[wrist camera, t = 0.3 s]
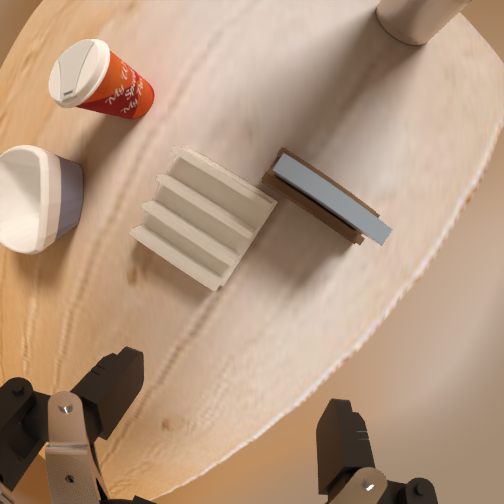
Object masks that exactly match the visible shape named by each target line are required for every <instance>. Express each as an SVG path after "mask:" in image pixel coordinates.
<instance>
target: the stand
mask: <svg viewBox="0 0 504 504" xmlns="http://www.w3.org/2000/svg"><path fill="white" fill-rule="evenodd" d="M283 153H285V154H286V155H288V156H290V157H291V158H293V159H294V160H296V161H298V162H299V163H301V164H302V165H304V166H305V167H307V168H308V169H310V170H311V171H313V172H314V173H316V174H317V175H319V176H320V177H322V178H323V179H325V180H326V181H328V182H329V183H331V184H332V185H333V186H335V187H336V188H338V189H339V190H341V191H342V192H343V193H345V194H346V195H348V196H349V197H350V198H352V199H353V200H354V201H356V202H357V203H358V204H360V205H361V206H362V207H364V208H365V209H366V210H368V211H369V212H370V213H372V214H373V215H374V216H376V217H377V218H379V216H380V215H379V214H377V213H376V211H374V210H373V209H372V208H370V207H369V206H368V205H366V204H365V203H364V202H363V201H361V200H360V199H358V198H357V197H356V196H354V195H353V194H352V193H350V192H349V191H348V190H346V189H345V188H343V187H342V186H341V185H339V184H338V183H336V182H335V181H333V180H332V179H331V178H329V177H328V176H326V175H325V174H323V173H322V172H320V171H319V170H317V169H316V168H314V167H313V166H311V165H310V164H308V163H307V162H305V161H304V160H302V159H301V158H299V157H297V156H296V155H294V154H293V153H291V152H289V151H288V150H286V149H285V148H281V150H280V151H279V153H278V154H277V155H278V157H277V158H276V160H275V161H274V163H273V165H272V166H271V168H270V169H269V171H268V172H266V173H265V175H264V176H263V178H262V182H263V183H264V184H266V185H268V186H269V187H271V188H272V189H274V190H275V191H277V192H279V193H280V194H282V195H283V196H285V197H286V198H288V199H289V200H291V201H292V202H294V203H296V204H297V205H299V206H300V207H302V208H303V209H305V210H306V211H308V212H309V213H311V214H312V215H314V216H315V217H316V218H318V219H319V220H321V221H322V222H324V223H325V224H327V225H328V226H330V227H331V228H332V229H334V230H335V231H337V232H338V233H340V234H341V235H342V236H344V237H345V238H347V239H348V240H349V241H351V242H352V243H354V244H355V243H357V244H359V245H361V243H362V242H363V240H364V238H363V237H362V236H361V234H362V233H361V232H359V231H357V230H356V229H354V228H353V227H352V226H350V225H349V224H347V223H346V222H345V221H343V220H342V219H340V218H339V217H338V216H336V215H335V214H333V213H332V212H330V211H329V210H328V209H326V208H325V207H323V206H322V205H320V204H319V203H317V202H316V201H314V200H313V199H311V198H310V197H309V196H307V195H306V194H304V193H303V192H301V191H299V190H298V189H296V188H295V187H293V186H292V185H290V184H289V183H287V182H286V181H284V180H282V179H281V178H279V177H278V176H276V175H275V173H274V172H273V168H274V167H275V165H276V164H277V162H278V161H279V159H280V158H281V156H282V155H283Z"/></svg>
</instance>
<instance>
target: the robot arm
mask: <svg viewBox="0 0 504 504" xmlns="http://www.w3.org/2000/svg"><path fill="white" fill-rule="evenodd" d="M471 1H472V0H381V1H380V3H379V5H378V6H377V9H376V15H377V18H378V20H379V22H380V24H381V25H382V27H383V28H384V29H385V30H386V31H387V32H388V33H389V34H391V35H392V36H393V37H394V38H396V39H398V40H400V41H402V42H404V43H406V44H410V45H416V46H417V45H423V44H425V43H426V42H427V41H429V40H430V39H431V38H432V37H433V36H434V35H435V34H436V33H437V32H438V31H439V30H440V29H442V28H443V27H444V26H445V25H446V24H447V23H448V22H449V21H450V20H451V19H452V18H453V17H454V16H456V15H457V14H458V13H459V12H460V11H461V10H462V9H463V8H464V7H465V6H466V5H467V4H468V3H470V2H471ZM143 382H144V357H143V353H142V352H140V351H137V350H135V349H132V348H129V347H125V348H124V349H123V350H122V351H121V352H120V353H119V354H118V355H116V354H114V353H112V354H110V355H107V356H105V357H103V358H102V359H101V360H100V361H99V362H98V363H97V364H96V366H94V367H93V368H92V369H91V371H89V372H88V373H87V374H86V375H85V376H84V378H83V379H82V380H81V381H80V382H79V383H78V384H77V385H76V386H75V387H74V388H73V389H72V390H71V391H70V392H66V391H63V392H58V393H55V394H53V395H52V396H50V395H46V394H43V393H39V392H36V391H34V390H33V387H32V385H31V383H30V382H29V381H28V380H26V379H24V378H20V377H16V378H12V379H10V380H8V381H7V382H6V383H5V384H4V385H3V386H2V387H1V388H0V504H15V502H14V497H13V494H12V491H13V490H14V488H15V486H16V485H17V483H18V482H19V480H20V479H21V477H22V476H23V474H24V473H25V471H26V470H27V469H28V467H29V466H30V464H31V463H32V461H33V460H34V458H35V457H36V456H37V454H38V453H39V451H40V450H41V449H42V447H43V446H44V444H45V443H46V442H49V446H46V447H45V458H46V467H47V476H48V483H49V489H50V495H51V501H52V504H156V503H153V502H151V501H148V500H145V499H143V498H140V497H138V496H134V498H133V500H126V499H110V497H109V494H108V491H107V488H106V486H105V483H104V480H103V477H102V473H101V469H100V465H99V461H98V456H97V452H96V447H95V443H94V442H95V440H96V439H97V438H98V436H99V437H101V438H103V439H105V440H107V439H108V438H109V436H110V435H111V433H112V432H113V430H114V429H115V427H116V426H117V424H118V423H119V421H120V420H121V418H122V417H123V415H124V414H125V412H126V411H127V409H128V408H129V406H130V405H131V404H132V402H133V401H134V399H135V398H136V396H137V395H138V393H139V392H140V390H141V388H142V386H143ZM368 439H369V437H368V433H367V429H366V425H365V421H364V420H363V418H362V417H361V416H360V414H359V413H356V412H352V407H351V403H350V401H349V400H341V399H331V400H330V401H329V403H328V405H327V407H326V409H325V411H324V413H323V415H322V416H321V418H320V420H319V422H318V425H317V429H316V441H317V459H318V460H317V461H318V487H319V488H318V489H319V494H323V495H328V501H327V502H326V503H325V504H438V502H437V497H436V493H435V489H434V486H433V485H432V483H431V482H430V481H428V480H427V479H424V478H414V479H412V480H411V481H409V482H408V483H407V484H404V483H398V482H393V481H389V480H387V479H386V476H385V475H384V474H383V473H382V472H381V471H380V470H378V469H376V468H375V464H374V459H373V455H372V451H371V446H370V442H369V440H368Z"/></svg>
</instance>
